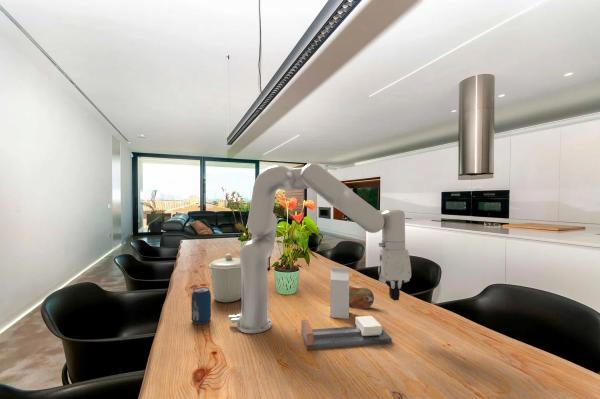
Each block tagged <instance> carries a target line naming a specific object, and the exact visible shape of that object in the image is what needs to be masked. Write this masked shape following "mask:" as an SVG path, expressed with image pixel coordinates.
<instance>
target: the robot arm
mask: <svg viewBox="0 0 600 399" xmlns="http://www.w3.org/2000/svg"><path fill="white" fill-rule="evenodd" d="M306 189H307V190H308V189H310V190H312V192H314V193H316V194H317V196H319V197H321V198H322V199H323V200H324V201H325V202H327V203H328V204H329V205H331V206H332V207H333V208H335V209H336V210H338V211H339V212H341V213H342V214H344V215H345V216H347V217H348V218H349V220H351V221H353V223H355V224H357V225H358V226H359V227H360V228H362V229H363V230H364V231H366V232H367V233H372V234H376V233H379V232H380V231H381V239H382V240H381V242H379V243H378V247H380V248H381V249H380V252H379V256H378V266H377V267H378V270H377V271H378V272H377V273H378V276H379V278H378V282H379V283H380V284H384V285H386V286H387V287H388V290H389V292H388V295H389V298H390V299H392V301H400V296H401V293H400V292H401V291H400V290H401V288H402V285H403V284H405V283H408V282H410V279H411V278H412V266H411V258H410V254H409V250H408V249H407V248H406V214H405V211H404V210H401V209H385V210H379V209H378V210H377V208H375V207H373V205H371V204H370V203H368V202H367V201H365V200H364V199H363V198H362V197H360V196H359V195H358V194H357V193H356V192H354V191H353V190H352V189H351V188H350V187H348V186H347V185H346V184H345V183H343V182H342V181H340V180H339V179H338V178H336V176H334V175H333V174H331V173H330V172H329V171H328V170H326V169H325V168H323V167H322V166H321V165H319V164H318V163H315V162H310V163H307V164H305V165H304V166H303V167H294V168H293V167H291V168H288V167H286V166H284V165H281V164H279V165H278V164H277V165H271V166H269V167H267V168H265V169H263V170H262V171H261V172H260V173H258V175H257V177H256V179H255V181H254V184H253V188H252V192H251V193H252V195H251V200H250V205H249V211H248V218H247V224H246V225H247V230H248V232H249V233H250V234H251V239H250V240H248V241H246V242H245V243H244V244H243V245H242V246H241V249H240V252H239V258H240V264H241V284H242V287H241V298H240V299H241V304H240V305H241V308H240V309H241V310H240V313H238V314H236V315H235V314H228V321H229V322H231V324H233V323H236V329H237V330H238V331H239V332H242V333H245V334H261V333H264V332H265V331H268V330H269V329H271V327H272V326H273V324H272V323H273V322H272V320H271V318H269V317H268V313H269V312H268V308H269V307H268V306H269V305H268V304H269V303H268V301H269V300H268V298H269V297H268V294H269V293H268V292H269V291H268V290H269V288H268V287H269V285H268V284H269V280H268V279H269V278H268V276H269V274H268V266H267V265H268V264H267V260H268V259H269V258H270V257H271V256H272V254H273V251H274V247H275V243H276V242H275V241H276V236H277V229H278V219H277V216H276V214H275V213H274V207H275V202H276V201H275V200H276V193H277V191H278V190H280V191H294V190H306Z"/></svg>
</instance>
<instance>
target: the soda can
mask: <svg viewBox="0 0 600 399" xmlns="http://www.w3.org/2000/svg"><path fill="white" fill-rule="evenodd" d="M211 318H212V292H211V291H210V288H209V287H206V286H205V287H204V286H201V287H197V288H194V289H193V292H192V293H191V320H192V323H193V324H194V323H195V325H204V324H207V323H208V322H209V321H210V320H211Z"/></svg>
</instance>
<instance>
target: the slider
mask: <svg viewBox="0 0 600 399" xmlns="http://www.w3.org/2000/svg"><path fill="white" fill-rule="evenodd" d="M354 319H355V322H354V323H355V325H356V326H357V329H360V330H361V335H362V336H373V335H380V334H382V329H383V327H382V325H381V324H380V323H379V322H378V320H376V319H375V317H373V316H372V315H363V316H355V318H354Z"/></svg>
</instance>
